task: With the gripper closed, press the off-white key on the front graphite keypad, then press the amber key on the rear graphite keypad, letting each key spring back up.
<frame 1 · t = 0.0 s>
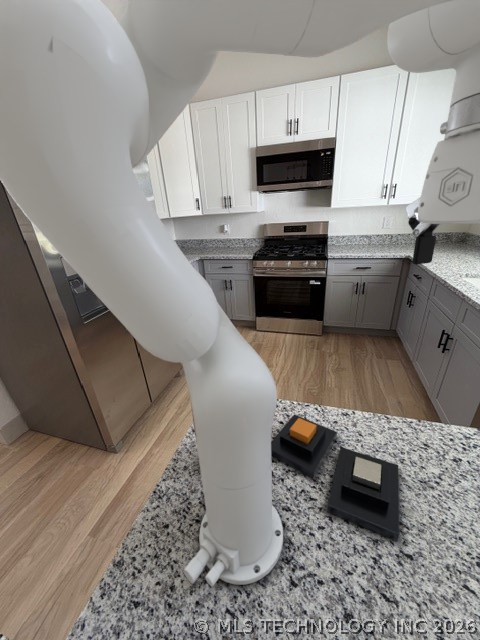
hand: (453, 268, 37), 37 cm above the countertop, tool pointing down, fingers open, 9 cm apart
rear keypad: (302, 445, 57), on the countertop
travel mug: (218, 461, 55), on the countertop
amber key: (303, 430, 56), point 4 cm above the countertop, slide at 0.1 cm
white key: (366, 473, 46), point 4 cm above the countertop, slide at 0.1 cm
front keypad: (364, 490, 47), on the countertop
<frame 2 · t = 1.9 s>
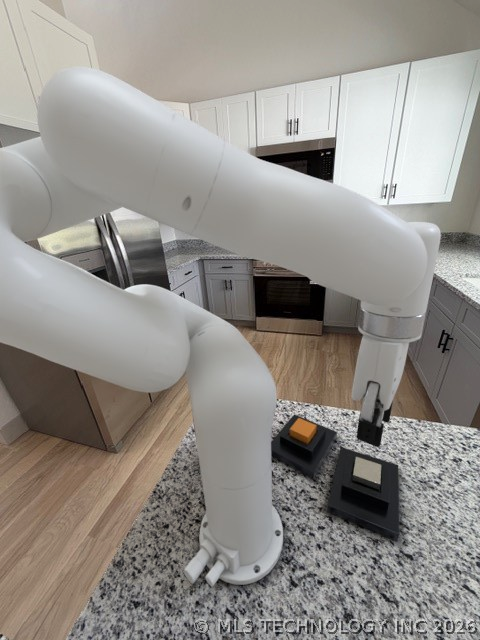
hand: (373, 428, 42), 13 cm above the countertop, tool pointing down, fingers open, 5 cm apart
nothing on the countertop moved.
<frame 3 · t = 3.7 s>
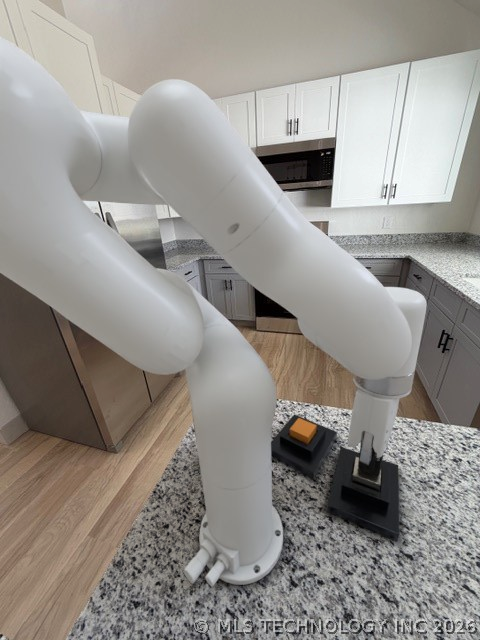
hand: (369, 469, 46), 5 cm above the countertop, tool pointing down, fingers closed
white key: (366, 473, 46), point 4 cm above the countertop, slide at 0.0 cm, touching gripper
everything else where it was.
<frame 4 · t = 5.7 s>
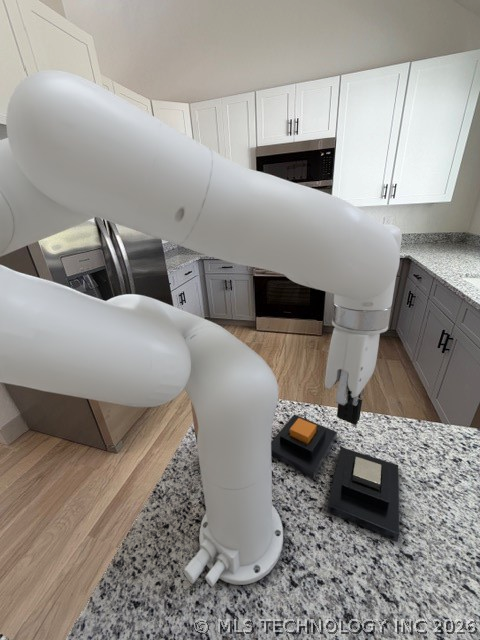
hand: (348, 418, 46), 13 cm above the countertop, tool pointing down, fingers closed
white key: (366, 473, 46), point 4 cm above the countertop, slide at 0.1 cm
everything else where it was.
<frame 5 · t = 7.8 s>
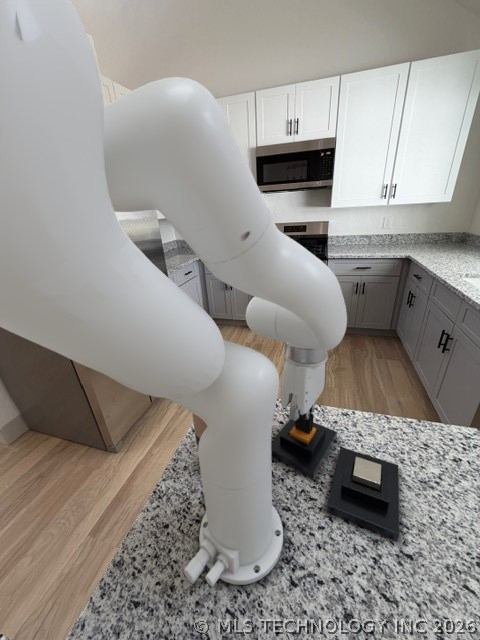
hand: (303, 428, 56), 4 cm above the countertop, tool pointing down, fingers closed
amber key: (302, 433, 56), point 3 cm above the countertop, slide at -0.7 cm, touching gripper
everything else where it was.
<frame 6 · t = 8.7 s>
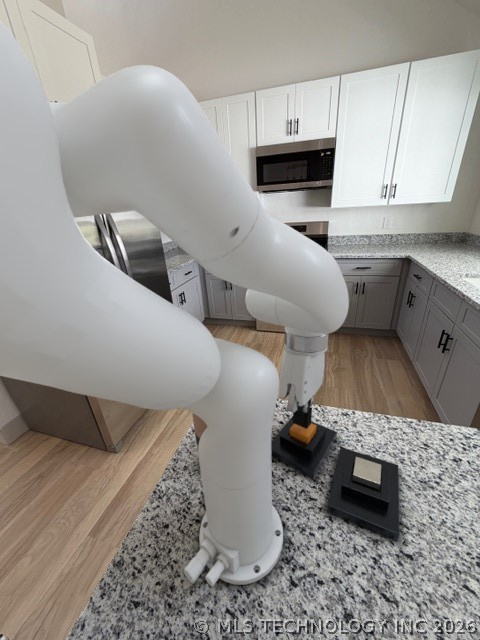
hand: (301, 423, 54), 6 cm above the countertop, tool pointing down, fingers closed
amber key: (303, 430, 56), point 4 cm above the countertop, slide at 0.1 cm
everything else where it was.
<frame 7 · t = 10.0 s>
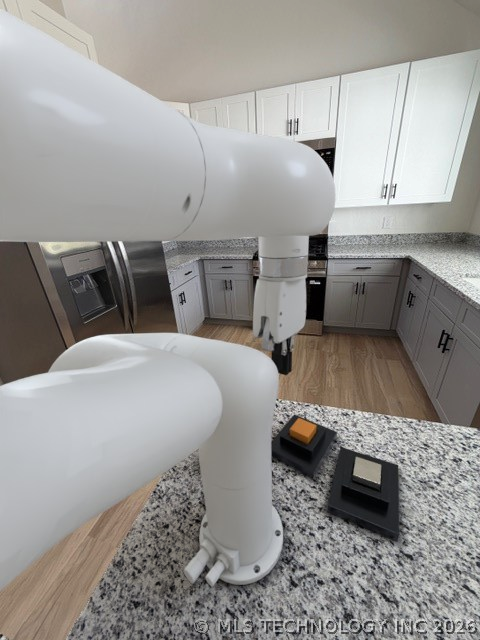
hand: (281, 371, 49), 19 cm above the countertop, tool pointing down, fingers closed
nothing on the countertop moved.
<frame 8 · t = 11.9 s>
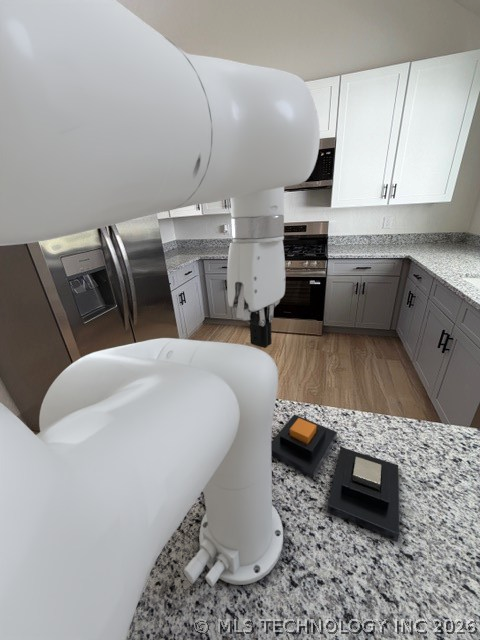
hand: (260, 344, 46), 25 cm above the countertop, tool pointing down, fingers closed
nothing on the countertop moved.
at the end: white key pushed in 1.0 cm at the most during the clip, back to where it started at the end; amber key pushed in 1.0 cm at the most during the clip, back to where it started at the end; amber key slide at 0.1 cm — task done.
